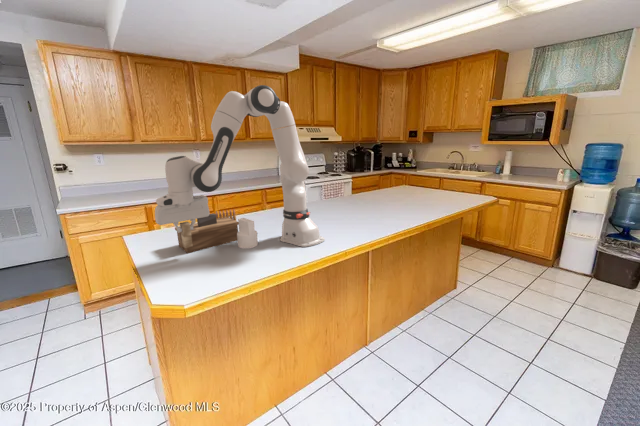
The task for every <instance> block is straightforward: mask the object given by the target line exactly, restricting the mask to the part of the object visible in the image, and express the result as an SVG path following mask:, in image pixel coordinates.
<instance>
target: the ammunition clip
mask: <svg viewBox="0 0 640 426" xmlns="http://www.w3.org/2000/svg"><path fill="white" fill-rule="evenodd" d="M215 214H216V219H220V218H225V217H228V218H230V219H232V220H235V221H237V216H236V211H235V209H234V208H233V210H232V209H229V211H228V209H226V211H225V210H222V212H221V210H219V212H218V211H217V210H216V211H215Z"/></svg>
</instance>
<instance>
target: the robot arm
mask: <svg viewBox="0 0 640 426" xmlns="http://www.w3.org/2000/svg"><path fill="white" fill-rule="evenodd" d="M246 116H250V117H252V118H254V117H255V118H259V117H262V116H265V117H266V118H267V120H268V121H269V125H270V129H271V132H272V137H273V140H274V144H275V149H276V151H277V154H278V157H279V158H280V165H279V169H280V171H279V173H280V179H281V188H282V194H283V195H282V196H283V199H282V200H283V210H282V214H283V215H282V216H283V222H282V226H281V237H280V240H279V241H280V242H283V243H287V244H291V245H295V246H299V247H302V248H305V247H312V246H315V245H319V244H321V243H323V242H324V241H326V239H325V237H324V236H321V235H320V234H321V233H320V229H319V226H318V224H316V223H315V222H314V221H313V220H312V219H311V217H310V215H311V212H310V211H309V209H308V207H307V203H308V202H307V191H306V187H305V186H306V185H305V180H307V178H308V177H309V173H310V168H309V165H308V162H307V159H306V156H305V153H304V150H303V148H302V146H301V142H300V139H299V133H298V130H297V127H296V126H297V125H296V122H295V118H294V115H293V112H292V110H291V108H290V106H289V103H287V102H285V101H281V99H280V98H279V96H277V94H276V92H275V91H274V90H273V88H272V87H270V86H269V85H264V84H259V85H257V86H255V87H253V88H252V89H250V90H248V92H246V93H245V94H242V93H240V92H238V91H235V90H234V91H233V90H231V91H229V92H227V93H226V94H225V95H224V96H223V98H222V99H221V101H220V103H219V104H218V106H217V107H216V109H215V111H214V114H213V117H212V120H211V125H210V129H211V132H212V135H213V140H212V141H213V142H212V144H211V148H210V149H209V152H208V154H207V158H206V159H205V161H204V162H203V163H202V162H199V161H195V160H193V159H190V158H189V157H188V156H186V155H179V156H178V155H177V156H172V157H170V158H168V159H167V160H166V162H165V168H164V169H165V180H166V183H167V184H168V185H167V186H168V188H167V194H165V195H163V196H160V197H158V198H156V199H155V202H156V203H155V204H156V206H155V209H154V220H155V223H156V224H157V225H159V226H165V225H170V224H173V225H174V228H175V227H176V228H177V231H178V233H180V232H182V228H181V227H179V226H178V225H179V223H182V222H187V221H190V229H191V230H194V227H193V226H194V224H195V223H197V218H203V217H208V216H209V214H211V213H210V208H209V199H208V197H207V196H206V195H204V194H201V195H200V194H199V195H194V192H193V188H196V189H198V190H199V191H201V192H203V193H211V192H215V191H216V190H218V189H219V187H220V186H221V183H222V179H223V173H222V172H223V171H222V170H223V167H224V164H225V161H226V159H227V157H228V154H229V151H230V149H231V146H232V144H233V143H234V140H235V138H236V136H238V135H237V134H238V133H239V130H240V129H241V126H242V125H243V122H244V119H245V118H246ZM177 231H176V232H177Z"/></svg>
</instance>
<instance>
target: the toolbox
mask: <svg viewBox="0 0 640 426" xmlns="http://www.w3.org/2000/svg"><path fill="white" fill-rule="evenodd" d="M238 232H239V225H234V226H230V227H225V228H221V229H216V230H212V231H207V232H203V233H198V234H194V235H191V237H192V245H193V246H191V247H187V248H185V247H183V244H182V237H181V234H180V233H178V232H177V231H176V234H177V235H176V236H177V241H178V247H179V248H181V250H183V251H184V252H186V253H187V254H190V253H195V252H199V251H203V250H206V249H210V248H214V247H218V246H222V245H225V244H230V243H234V242H238V241H237V233H238Z"/></svg>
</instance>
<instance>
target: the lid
mask: <svg viewBox="0 0 640 426" xmlns="http://www.w3.org/2000/svg"><path fill="white" fill-rule="evenodd" d="M234 225H238V226H239V223H238V220H236V221H235V220H232V219H230V218H228V217H226V216H225V218H223V217H222V218H220V219H216V213H213V212H212V213H210V214H209V216H208V217H203V218H197V219H196V222H195V224H194V226H193V227H194V230H191V235H194V234H198V233H203V232H207V231H212V230H216V229H221V228H225V227H230V226H234ZM178 227H180V225H179V226H178ZM174 230H175V231H176V233H177V232H178V231H177V228H176V227H175V226H174ZM180 234H181V232H180Z"/></svg>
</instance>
